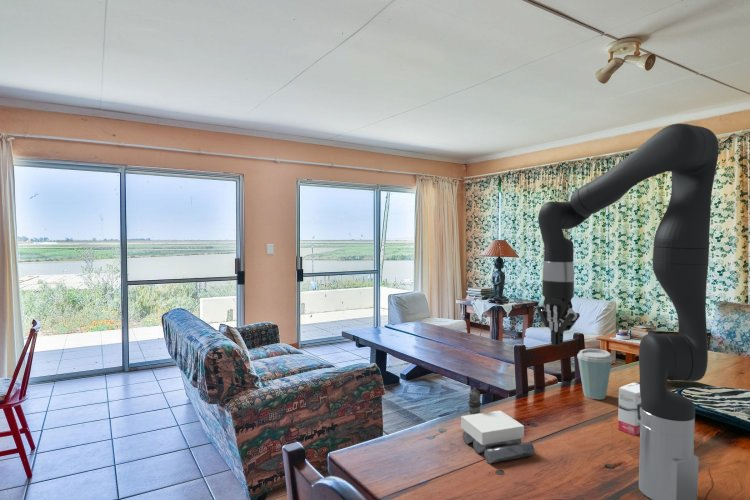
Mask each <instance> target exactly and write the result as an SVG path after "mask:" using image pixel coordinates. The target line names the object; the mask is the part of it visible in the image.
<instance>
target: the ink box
mask: <svg viewBox="0 0 750 500" xmlns="http://www.w3.org/2000/svg"><path fill="white" fill-rule="evenodd" d="M617 414H618V415H617V421H618V422H617V423H618V424H617V429H618V430H619V431H622V432H624V433H626V434H627V433H628V434H629V435H632V436H637V435H640V421H641V395H640V383H637V382H631V383H629V384H625V385H622V386H620V387H619V388H618V413H617Z"/></svg>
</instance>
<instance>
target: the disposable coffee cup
mask: <svg viewBox="0 0 750 500" xmlns="http://www.w3.org/2000/svg"><path fill="white" fill-rule="evenodd" d="M576 357H577V360H578V368H579V373H580V379H581V380H580V381H581V384H582V385H581V386H582V392H583V394H584V396H585V397H586V398H588V399H592V400H604V399H605V398H606V397H607V393H608V392H607V391H608V386H609V380H610V375H611V368H612V362H613V356H612V355H611V352H609V351H608V350H604V349H600V348H584V349H581V350H579V351H578V353H577V356H576Z"/></svg>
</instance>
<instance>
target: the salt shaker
mask: <svg viewBox="0 0 750 500" xmlns="http://www.w3.org/2000/svg"><path fill="white" fill-rule="evenodd" d="M468 400H469V401H468V402H467V404H468V413H465V414H463V416H466V415H473V414H480V413H481V406H482V402H481V392H480V390H478V389H477V388H476V386H474V387H473V389H471V390H470V391H469V399H468Z"/></svg>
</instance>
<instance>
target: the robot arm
mask: <svg viewBox="0 0 750 500" xmlns="http://www.w3.org/2000/svg"><path fill="white" fill-rule="evenodd" d="M719 151H720V145H719V140H718V137H717V135H716V134H715V133H714V132H713V131H712V130H711V129H709V128H707V127H704V126H699V125H692V124H690V123H689V124H688V123H673V124H670V125H667V126H665V127H663V128H662V129H661V130H659V131H657V132H656V133H654V134H653V135H652V136H651V137H650V138H648V139H647V140H646V141H645V142H643V143H642V144H641V145H640V146H638V148H637V149H635V150H634V151H633V152H631V153H630V154H629V155H628V156H626V157H625V158H624V159H622V161H620V162H618V163H617V164H616V165H615V166H613V167H611V168H610V169H609V170H607V171H606V172H604V173H602V174H601V175H599V176H598V177H596V178H594V179H591V181H589V182H587V183H586V184H584V185H582V186H580V187H579V188H576V189H575V190H574V192H572V194H571V196H570V200H568V201H565V202H564V201H555V200H554V201H547V202H545V203H543V205H542V206H541V208H540V210H539V211H538V219H537V220H538V221H537V222H538V226H539V230H540V234H541V238H542V239H541V240H542V242H543V247H544V250H543V265H542V266H543V267H542V289H541V291H542V293H541V295H542V296H543V297H544V300H543V304H542V305H540V306H537V308H536V310H537V312H538V315H539V316H540V319H541V320H542V323H543V325H544V327H545V328H548V329H549V331H550V344H551V346H555V347H562V346H563V343H564V332H566V331H570V330H571V329H572V328H573V326H574V325H575V324H576V322H577V321H578V320H579V319H580V316H581V315H580V313H579V312H575V310H574V309H573V303H572V299H573V298H574V295H575V293H574V291H575V266H574V253H575V252H574V250H575V249H574V242H573V241H572V240H571V239H568V238H566V237H565V235H564V230H571V229H574V228H576V227H578V226H580V225H582V224H583V223H584V222H585V221H586V220H587V219H588V218H590V216H592V215H593V214H595V213H598V212H600V211H601V210H603V209H606V208H608V207H609V206H611V205H613V204H615V203H616V202H618V201H619V200H620V199H621V198H623V197H624V196H625V195H626V194H627V193H628V192H629V191H630V190H631V189H632V188H633V187H635V186H636V185H638V184H639V183H641V182H643V181H645V180H647V179H650V178H652V177H655V176H658V175H661V174H663V173H666V172H669V173H670V172H671V190H670V191H671V193H670V199H669V201H668V205H667V208H666V210H665V212H664V214H663V216H662V217H661V220H660V222H659V224H658V227H657V230H656V232H655V234H654V239H653V244H652V245H653V246H652V247H653V249H652V271H653V274H654V276H655V279H656V280H657V282H658V283H659V285H660V286H661V287H662V290H663V291H664V292H665V293H666V295H667V297H668V298H669V300H670V301H671V303H672V305H673V307H674V309H675V312H676V315H677V321H678V334H673V333H671V334H670V333H647V334H645V335H643V336H642V338H641V339H640V343H639V346H638V348H639V349H638V366H639V368H638V369H639V384H640V395H641V421H640V434H639V458H638V459H639V460H638V461H639V462H638V489H639V491H640V492H641V493H642V494H643V495H645V497H647V498H649V499H650V500H698V490H699V489H698V487H699V463H700V462H699V461H700V459H699V457H698V455H695V454H694V452H695V450H694V449H695V446H694V445H695V423H696V421H695V420H696V407H695V406H696V405H695V404H694V402H693V401H692V400H690V399H689V398H687V397H685V396H684V395H681V394H679V393H676V392H673V391H671V390H668V386H667V381H675V382H676V381H677V382H698V381H700V380H702V379H704V377H705V376H706V372H707V371H708V370H707V369H708V363H709V354H708V353H709V352H708V351H709V350H708V348H709V347H708V333H707V332H708V331H707V330H708V329H707V314H706V311H707V310H706V309H707V303H706V301H707V287H708V286H707V283H708V271H709V258H710V230H711V229H710V227H711V212H712V211H711V210H712V209H711V207H712V194H713V186H714V183H715V182H714V181H715V176H716V170H717V165H718V159H719V153H720V152H719Z"/></svg>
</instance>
